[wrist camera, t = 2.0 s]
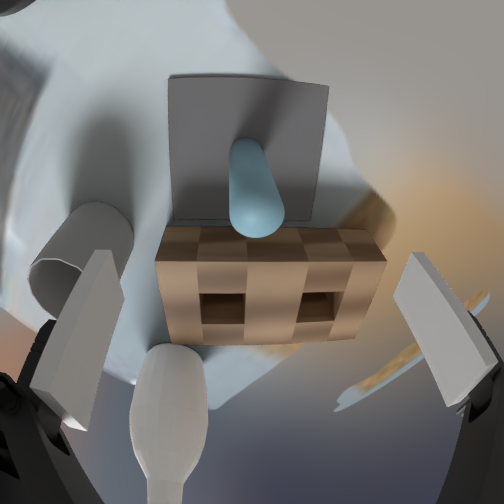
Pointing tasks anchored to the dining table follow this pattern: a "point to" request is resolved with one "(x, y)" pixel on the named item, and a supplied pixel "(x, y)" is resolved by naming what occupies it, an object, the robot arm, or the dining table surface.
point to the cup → (78, 252)
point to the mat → (238, 126)
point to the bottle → (169, 419)
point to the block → (266, 284)
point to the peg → (252, 191)
